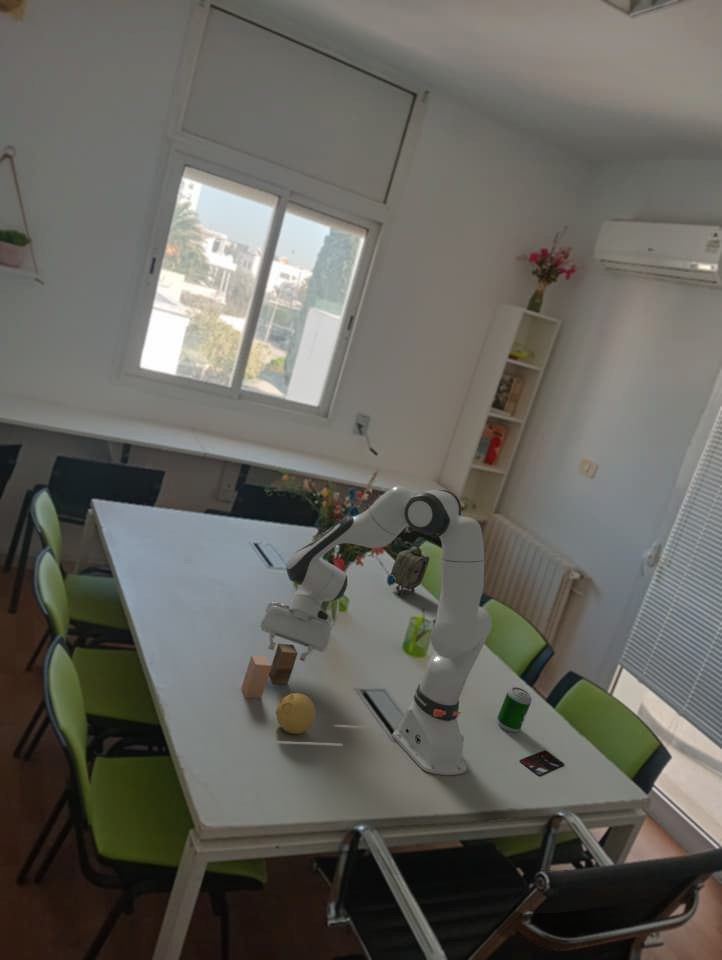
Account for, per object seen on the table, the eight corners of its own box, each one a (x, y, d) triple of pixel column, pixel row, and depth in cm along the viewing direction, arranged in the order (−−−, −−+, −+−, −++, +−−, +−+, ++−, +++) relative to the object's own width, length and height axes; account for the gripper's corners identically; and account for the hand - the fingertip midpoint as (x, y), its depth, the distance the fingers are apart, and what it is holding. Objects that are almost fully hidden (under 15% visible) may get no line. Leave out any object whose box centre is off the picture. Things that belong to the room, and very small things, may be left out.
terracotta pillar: (261, 698, 198) (271, 665, 196) (245, 697, 196) (255, 664, 194) (257, 689, 202) (267, 656, 200) (241, 687, 200) (251, 655, 198)
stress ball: (311, 735, 191) (305, 697, 196) (323, 726, 183) (317, 686, 188) (274, 740, 187) (269, 700, 192) (285, 730, 179) (279, 689, 184)
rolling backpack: (402, 599, 304) (421, 543, 299) (384, 589, 308) (402, 534, 303) (417, 593, 316) (436, 539, 311) (400, 584, 321) (418, 531, 315)
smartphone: (565, 764, 215) (539, 775, 205) (564, 766, 216) (538, 777, 205) (545, 749, 220) (518, 759, 209) (544, 751, 220) (517, 761, 209)
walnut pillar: (287, 684, 209) (297, 653, 207) (272, 683, 207) (282, 651, 205) (283, 675, 213) (293, 644, 211) (268, 674, 211) (278, 643, 209)
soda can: (514, 737, 222) (528, 702, 219) (492, 724, 225) (505, 689, 223) (522, 729, 228) (536, 695, 226) (500, 716, 232) (513, 683, 229)
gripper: (270, 595, 216) (252, 638, 208) (336, 619, 214) (320, 663, 207) (270, 603, 221) (252, 645, 214) (334, 627, 220) (318, 670, 212)
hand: (286, 654), depth 210 cm, fingers open, 8 cm apart
